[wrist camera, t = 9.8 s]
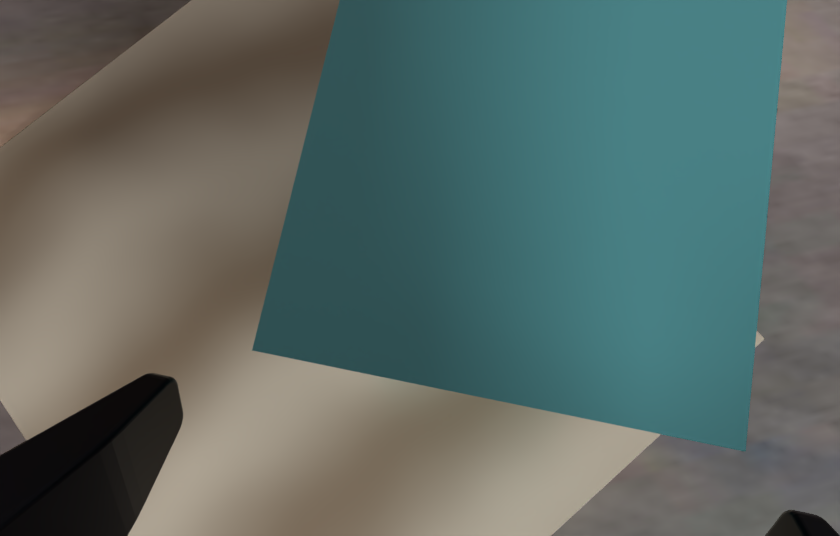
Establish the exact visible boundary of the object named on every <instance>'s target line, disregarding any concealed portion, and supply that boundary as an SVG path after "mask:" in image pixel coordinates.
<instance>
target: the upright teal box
mask: <svg viewBox="0 0 840 536" xmlns="http://www.w3.org/2000/svg"><path fill="white" fill-rule="evenodd" d="M786 5H787V0H340V1H339V5H338V9H337V13H336V17H335V21H334V25H333V29H332V33H331V37H330V41H329V45H328V49H327V53H326V57H325V61H324V65H323V69H322V73H321V77H320V81H319V85H318V89H317V93H316V97H315V101H314V105H313V109H312V113H311V117H310V121H309V125H308V129H307V133H306V137H305V141H304V145H303V149H302V153H301V157H300V161H299V165H298V169H297V173H296V177H295V181H294V185H293V189H292V193H291V197H290V201H289V205H288V209H287V213H286V217H285V221H284V225H283V229H282V233H281V237H280V241H279V245H278V249H277V253H276V257H275V261H274V265H273V269H272V273H271V277H270V281H269V285H268V289H267V292H266V296H265V300H264V304H263V308H262V312H261V316H260V320H259V324H258V328H257V332H256V336H255V340H254V344H253V348H252V351H257V352H262V353H267V354H272V355H277V356H282V357H287V358H291V359H296V360H301V361H306V362H311V363H316V364H321V365H326V366H330V367H335V368H340V369H345V370H350V371H355V372H360V373H365V374H370V375H374V376H379V377H384V378H389V379H394V380H399V381H404V382H409V383H413V384H418V385H423V386H428V387H433V388H438V389H443V390H448V391H453V392H457V393H462V394H467V395H472V396H477V397H482V398H487V399H492V400H496V401H501V402H506V403H511V404H516V405H521V406H526V407H531V408H535V409H540V410H545V411H550V412H555V413H560V414H565V415H570V416H575V417H579V418H584V419H589V420H594V421H599V422H604V423H609V424H614V425H618V426H623V427H628V428H633V429H638V430H643V431H648V432H653V433H658V434H662V435H667V436H672V437H677V438H682V439H687V440H692V441H697V442H701V443H706V444H711V445H716V446H721V447H726V448H731V449H736V450H741V451H746V440H747V429H748V418H749V407H750V397H751V386H752V375H753V364H754V353H755V342H756V331H757V320H758V310H759V299H760V288H761V277H762V266H763V255H764V244H765V233H766V223H767V212H768V201H769V190H770V179H771V168H772V157H773V147H774V136H775V125H776V114H777V103H778V92H779V81H780V70H781V60H782V49H783V38H784V27H785V16H786Z"/></svg>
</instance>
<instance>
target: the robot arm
mask: <svg viewBox="0 0 840 536" xmlns="http://www.w3.org/2000/svg"><path fill="white" fill-rule="evenodd" d="M182 422H183V408H182V403H181V398H180V393H179V388H178V383H177V381H176V380H175V379H174V378H173V377H170V376H166V375H161V374H156V373H148V374H145V375H143V376H141V377H139V378H137V379H135V380H134V381H132V382H130V383H128V384H126V385H125V386H123V387H121V388H119V389H118V390H116V391H114V392H112V393H110V394H109V395H107V396H105V397H103V398H101V399H100V400H98V401H96V402H94V403H93V404H91V405H89V406H87V407H85V408H84V409H82V410H80V411H78V412H77V413H75V414H73V415H71V416H69V417H68V418H66V419H64V420H62V421H61V422H59V423H57V424H55V425H53V426H52V427H50V428H48V429H46V430H44V431H43V432H41V433H39V434H37V435H36V436H34V437H32V438H30V439H28V440H27V441H25V442H23V443H21V444H20V445H18V446H16V447H14V448H12V449H11V450H9V451H7V452H5V453H3V454H2V455H0V536H128V534H129V532H130V531H131V529H132V527H133V525H134V524H135V522H136V520H137V518H138V516H139V514H140V512H141V510H142V508H143V506H144V504H145V502H146V500H147V498H148V496H149V494H150V492H151V490H152V487H153V485H154V483H155V481H156V479H157V477H158V475H159V473H160V471H161V468H162V466H163V464H164V462H165V460H166V458H167V456H168V454H169V451H170V449H171V447H172V445H173V443H174V441H175V439H176V437H177V435H178V432H179V430H180V428H181V425H182ZM765 536H840V535H839V534H838V533H837V532H836V531H835V530H834V529H833V528H832V527H831V526H830V525H829V524H828V523H827V522H826V521H825V520H824V519H823V518H821V517H819V516H817V515H814V514H809V513H805V512H800V511H795V510H788V511H785V512H784V513H783V514H782V515H781V516H780V517H779V518H778V520H777V521H776V522H775V524H774V525H773V526H772V528H771V529H770V530H769V531H768V533H767V534H766V535H765Z"/></svg>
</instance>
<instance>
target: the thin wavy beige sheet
mask: <svg viewBox="0 0 840 536" xmlns="http://www.w3.org/2000/svg"><path fill="white" fill-rule="evenodd" d="M339 1H340V0H191V1H190V2H188V3H187V4H186V5H185V6H183V7H182V8H181V9H179V10H178V11H177V12H175V13H174V14H173V15H172V16H170V17H169V18H168V19H166V20H165V21H164V22H162V23H161V24H160V25H159V26H157V27H156V28H155V29H153V30H152V31H151V32H149V33H148V34H147V35H146V36H144V37H143V38H142V39H140V40H139V41H138V42H137V43H135V44H134V45H133V46H131V47H130V48H129V49H127V50H126V51H125V52H124V53H122V54H121V55H120V56H118V57H117V58H116V59H114V60H113V61H112V62H111V63H109V64H108V65H107V66H105V67H104V68H103V69H101V70H100V71H99V72H98V73H96V74H95V75H94V76H92V77H91V78H90V79H88V80H87V81H86V82H85V83H83V84H82V85H81V86H79V87H78V88H77V89H75V90H74V91H73V92H72V93H70V94H69V95H68V96H66V97H65V98H64V99H63V100H61V101H60V102H59V103H57V104H56V105H55V106H53V107H52V108H51V109H50V110H48V111H47V112H46V113H44V114H43V115H42V116H40V117H39V118H38V119H37V120H35V121H34V122H33V123H31V124H30V125H29V126H27V127H26V128H25V129H24V130H22V131H21V132H20V133H18V134H17V135H16V136H14V137H13V138H12V139H11V140H9V141H8V142H7V143H5V144H4V145H3V146H2V147H0V401H1V402H2V404H3V405H4V407H5V408H6V410H7V411H8V413H9V414H10V416H11V418H12V419H13V421H14V422H15V424H16V425H17V427H18V428H19V430H20V431H21V433H22V434H23V436H24V438H25V439H26V441H27V440H28V439H30V438H32V437H34V436H36V435H37V434H39V433H41V432H43V431H44V430H46V429H48V428H50V427H52V426H53V425H55V424H57V423H59V422H61V421H62V420H64V419H66V418H68V417H69V416H71V415H73V414H75V413H77V412H78V411H80V410H82V409H84V408H85V407H87V406H89V405H91V404H93V403H94V402H96V401H98V400H100V399H101V398H103V397H105V396H107V395H109V394H110V393H112V392H114V391H116V390H118V389H119V388H121V387H123V386H125V385H126V384H128V383H130V382H132V381H134V380H135V379H137V378H139V377H141V376H143V375H145V374H148V373H156V374H161V375H166V376H170V377H173V378H174V379H175V380H176V381H177V383H178V388H179V393H180V398H181V403H182V408H183V422H182V425H181V428H180V430H179V432H178V435H177V437H176V439H175V441H174V443H173V445H172V447H171V449H170V451H169V454H168V456H167V458H166V460H165V462H164V464H163V466H162V468H161V471H160V473H159V475H158V477H157V479H156V481H155V483H154V485H153V487H152V490H151V492H150V494H149V496H148V498H147V500H146V502H145V504H144V506H143V508H142V510H141V512H140V514H139V516H138V518H137V520H136V522H135V524H134V525H133V527H132V529H131V531H130V532H129V534H128V536H551V535H552V534H553V533H554V532H555V531H556V530H558V529H559V528H560V527H561V526H562V525H563V524H564V523H565V522H566V521H567V520H568V519H569V518H571V517H572V516H573V515H574V514H575V513H576V512H577V511H578V510H579V509H580V508H581V507H583V506H584V505H585V504H586V503H587V502H588V501H589V500H590V499H591V498H592V497H593V496H594V495H596V494H597V493H598V492H599V491H600V490H601V489H602V488H603V487H604V486H605V485H606V484H607V483H609V482H610V481H611V480H612V479H613V478H614V477H615V476H616V475H617V474H618V473H619V472H621V471H622V470H623V469H624V468H625V467H626V466H627V465H628V464H629V463H630V462H631V461H632V460H634V459H635V458H636V457H637V456H638V455H639V454H640V453H641V452H642V451H643V450H644V449H645V448H647V447H648V446H649V445H650V444H651V443H652V442H653V441H654V440H655V439H656V438H657V437H659V436H660V435H661V434H658V433H653V432H648V431H643V430H638V429H633V428H628V427H623V426H618V425H614V424H609V423H604V422H599V421H594V420H589V419H584V418H579V417H575V416H570V415H565V414H560V413H555V412H550V411H545V410H540V409H535V408H531V407H526V406H521V405H516V404H511V403H506V402H501V401H496V400H492V399H487V398H482V397H477V396H472V395H467V394H462V393H457V392H453V391H448V390H443V389H438V388H433V387H428V386H423V385H418V384H413V383H409V382H404V381H399V380H394V379H389V378H384V377H379V376H374V375H370V374H365V373H360V372H355V371H350V370H345V369H340V368H335V367H330V366H326V365H321V364H316V363H311V362H306V361H301V360H296V359H291V358H287V357H282V356H277V355H272V354H267V353H262V352H257V351H252V348H253V344H254V340H255V336H256V332H257V328H258V324H259V320H260V316H261V312H262V308H263V304H264V300H265V296H266V292H267V289H268V285H269V281H270V277H271V273H272V269H273V265H274V261H275V257H276V253H277V249H278V245H279V241H280V237H281V233H282V229H283V225H284V221H285V217H286V213H287V209H288V205H289V201H290V197H291V193H292V189H293V185H294V181H295V177H296V173H297V169H298V165H299V161H300V157H301V153H302V149H303V145H304V141H305V137H306V133H307V129H308V125H309V121H310V117H311V113H312V109H313V105H314V101H315V97H316V93H317V89H318V85H319V81H320V77H321V73H322V69H323V65H324V61H325V57H326V53H327V49H328V45H329V41H330V37H331V33H332V29H333V25H334V21H335V17H336V13H337V9H338V5H339ZM763 340H764V338H763V337H762V336H761V335H760V334H759V333H758V332H757V331H756V342H755V347H756V346H757V345H758V344H759V343H761V342H762V341H763Z"/></svg>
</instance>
